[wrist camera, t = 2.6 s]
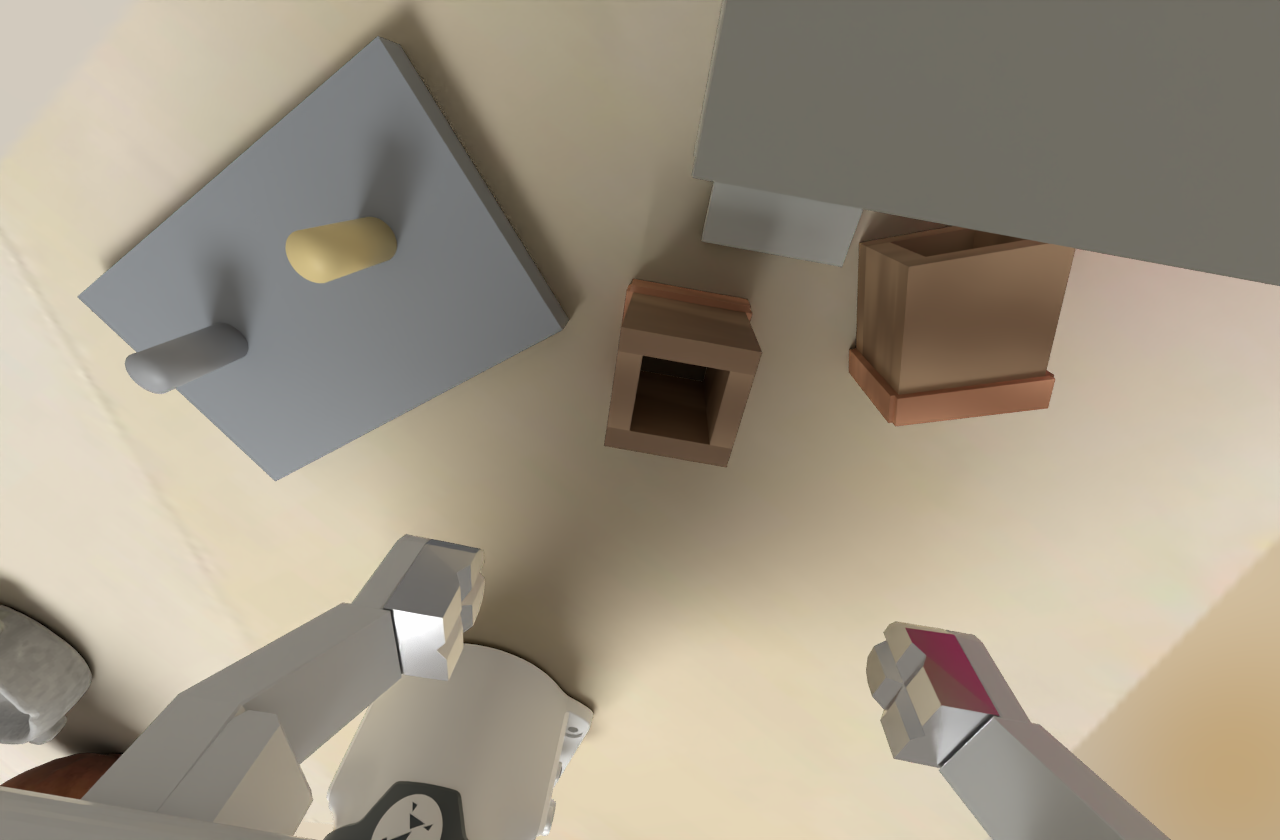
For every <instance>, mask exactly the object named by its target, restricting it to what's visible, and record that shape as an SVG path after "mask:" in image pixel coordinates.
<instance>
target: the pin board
mask: <svg viewBox="0 0 1280 840" xmlns="http://www.w3.org/2000/svg"><path fill="white" fill-rule="evenodd" d="M78 298H79V299H80V300H81V301H82V302H83V303H84V304H86V305H87V306H88V307H89V308H90V309H91V310H92V311H93V312H94V313H95V314H96V315H97V316H98V317H99V318H101V319H102V320H103V321H104V322H105V323H106V324H107V325H108V326H109V327H110V328H111V329H112V330H113V331H114V332H116V333H117V334H118V335H119V336H120V337H121V338H122V339H123V340H124V341H125V342H126V343H127V344H128V345H130V346H131V347H132V348H133V349H134V350H135V351H136V352H137V353H134V354H131V355H129V356H128V357H127V358H126V361H125V367H126V370H127V372H128V374H129V375H130V377H131V378H132V379H133V380H134V381H135V382H136V383H137V384H138V385H139V386H141V387H142V388H144V389H145V390H147V391H150V392H152V393H157V394H163V393H166V392H169V391H171V390H173V389H175V388H176V389H177V390H178V391H179V392H180V393H181V394H182V395H183V396H184V397H185V398H186V399H187V400H189V401H190V402H191V403H192V404H193V405H194V406H195V407H196V408H197V409H198V410H199V411H200V412H201V413H203V414H204V415H205V416H206V417H207V418H208V419H209V420H210V421H211V422H212V423H213V424H214V425H215V426H216V427H218V428H219V429H220V430H221V431H222V432H223V433H224V434H225V435H226V436H227V437H228V438H229V439H230V440H232V441H233V442H234V443H235V444H236V445H237V446H238V447H239V448H240V449H241V450H242V451H243V452H244V453H245V454H247V455H248V456H249V457H250V458H251V459H252V460H253V461H254V462H255V463H256V464H257V465H258V466H259V467H261V468H262V469H263V470H264V471H265V472H266V473H267V474H268V475H269V476H270V477H271V478H272V479H273V480H274V481H277V480H279V479H281V478H283V477H285V476H287V475H289V474H290V473H292V472H294V471H296V470H298V469H300V468H302V467H304V466H306V465H307V464H309V463H311V462H313V461H315V460H317V459H319V458H321V457H323V456H325V455H326V454H328V453H330V452H332V451H334V450H336V449H338V448H340V447H342V446H343V445H345V444H347V443H349V442H351V441H353V440H355V439H357V438H359V437H361V436H362V435H364V434H366V433H368V432H370V431H372V430H374V429H376V428H378V427H379V426H381V425H383V424H385V423H387V422H389V421H391V420H393V419H395V418H396V417H398V416H400V415H402V414H404V413H406V412H408V411H410V410H412V409H414V408H415V407H417V406H419V405H421V404H423V403H425V402H427V401H429V400H431V399H432V398H434V397H436V396H438V395H440V394H442V393H444V392H446V391H448V390H450V389H451V388H453V387H455V386H457V385H459V384H461V383H463V382H465V381H467V380H468V379H470V378H472V377H474V376H476V375H478V374H480V373H482V372H484V371H485V370H487V369H489V368H491V367H493V366H495V365H497V364H499V363H501V362H503V361H504V360H506V359H508V358H510V357H512V356H514V355H516V354H518V353H520V352H521V351H523V350H525V349H527V348H529V347H531V346H533V345H535V344H537V343H539V342H540V341H542V340H544V339H546V338H548V337H550V336H552V335H554V334H556V333H557V332H559V331H561V330H563V328H564V327H565V325H566V324H567V322H568V321H569V319H568V317H567V316H566V314H565V312H564V311H563V309H562V307H561V306H560V304H559V303H558V301H557V299H556V298H555V296H554V294H553V293H552V291H551V290H550V288H549V286H548V285H547V283H546V281H545V280H544V278H543V277H542V275H541V273H540V272H539V270H538V268H537V267H536V265H535V264H534V262H533V260H532V259H531V257H530V255H529V254H528V252H527V251H526V249H525V247H524V246H523V244H522V242H521V241H520V239H519V238H518V236H517V234H516V233H515V231H514V229H513V228H512V226H511V225H510V223H509V221H508V220H507V218H506V216H505V215H504V213H503V212H502V210H501V208H500V207H499V205H498V203H497V202H496V200H495V198H494V197H493V195H492V194H491V192H490V190H489V189H488V187H487V185H486V184H485V182H484V181H483V179H482V177H481V176H480V174H479V172H478V171H477V169H476V168H475V166H474V164H473V163H472V161H471V159H470V158H469V156H468V155H467V153H466V151H465V150H464V148H463V146H462V145H461V143H460V142H459V140H458V138H457V137H456V135H455V133H454V132H453V130H452V129H451V127H450V125H449V124H448V122H447V120H446V119H445V117H444V116H443V114H442V112H441V111H440V109H439V107H438V106H437V104H436V103H435V101H434V99H433V98H432V96H431V94H430V93H429V91H428V90H427V88H426V86H425V85H424V83H423V81H422V80H421V78H420V76H419V75H418V73H417V72H416V70H415V68H414V67H413V65H412V63H411V62H410V60H409V59H408V57H407V55H406V54H405V52H404V50H403V49H402V47H401V46H400V45H399V44H397V43H394V42H392V41H389V40H387V39H384V38H382V37H379V36H377V37H376V38H375V39H374V40H373V41H371V42H370V43H369V44H368V45H367V46H366V47H364V48H363V49H362V50H361V51H360V52H359V53H358V54H356V55H355V56H354V57H353V58H352V59H351V60H349V61H348V62H347V63H346V64H345V65H344V66H343V67H341V68H340V69H339V70H338V71H337V72H336V73H334V74H333V75H332V76H331V77H330V78H329V79H328V80H326V81H325V82H324V83H323V84H322V85H321V86H320V87H318V88H317V89H316V90H315V91H314V92H313V93H311V94H310V95H309V96H308V97H307V98H306V99H305V100H303V101H302V102H301V103H300V104H299V105H298V106H296V107H295V108H294V109H293V110H292V111H291V112H290V113H288V114H287V115H286V116H285V117H284V118H283V119H281V120H280V121H279V122H278V123H277V124H276V125H275V126H273V127H272V128H271V129H270V130H269V131H268V132H267V133H265V134H264V135H263V136H262V137H261V138H260V139H258V140H257V141H256V142H255V143H254V144H253V145H252V146H250V147H249V148H248V149H247V150H246V151H245V152H243V153H242V154H241V155H240V156H239V157H238V158H237V159H235V160H234V161H233V162H232V163H231V164H230V165H228V166H227V167H226V168H225V169H224V170H223V171H222V172H220V173H219V174H218V175H217V176H216V177H215V178H213V179H212V180H211V181H210V182H209V183H208V184H207V185H205V186H204V187H203V188H202V189H201V190H200V191H199V192H197V193H196V194H195V195H194V196H193V197H192V198H190V199H189V200H188V201H187V202H186V203H185V204H184V205H182V206H181V207H180V208H179V209H178V210H177V211H175V212H174V213H173V214H172V215H171V216H170V217H169V218H167V219H166V220H165V221H164V222H163V223H162V224H160V225H159V226H158V227H157V228H156V229H155V230H154V231H152V232H151V233H150V234H149V235H148V236H147V237H146V238H144V239H143V240H142V241H141V242H140V243H139V244H137V245H136V246H135V247H134V248H133V249H132V250H131V251H129V252H128V253H127V254H126V255H125V256H124V257H122V258H121V259H120V260H119V261H118V262H117V263H116V264H114V265H113V266H112V267H111V268H110V269H109V270H107V271H106V272H105V273H104V274H103V275H102V276H101V277H99V278H98V279H97V280H96V281H95V282H94V283H92V284H91V285H90V286H89V287H88V288H87V289H86V290H84V291H83V292H82V293H81V294H80V295H79V296H78Z"/></svg>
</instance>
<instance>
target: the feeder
mask: <svg viewBox="0 0 1280 840" xmlns="http://www.w3.org/2000/svg"><path fill="white" fill-rule="evenodd" d="M693 156H695V160H694V166H693V171H692V177H693V178H696V179H702V180H707V181H713V185H712V190H711V195H710V199H709V204H708V209H707V214H706V218H705V223H704V228H703V232H702V237H701V240H702V242H707V243H713V244H718V245H724V246H729V247H735V248H740V249H746V250H751V251H757V252H762V253H767V254H773V255H778V256H784V257H789V258H795V259H800V260H806V261H811V262H817V263H822V264H828V265H833V266H839V267H842V266H843V263H844V260H845V258H846V255H847V252H848V249H849V247H850V244H851V241H852V238H853V236H854V233H855V230H856V227H857V225H858V222H859V219H860V217H861V214H862V211H863V209H865V210H870V211H875V212H881V213H886V214H892V215H897V216H903V217H908V218H913V219H919V220H924V221H930V222H935V223H941V224H946V225H951V226H957V227H962V228H968V229H973V230H979V231H984V232H989V233H995V234H1000V235H1006V236H1011V237H1017V238H1022V239H1027V240H1033V241H1038V242H1044V243H1049V244H1055V245H1060V246H1065V247H1071V248H1076V249H1082V250H1087V251H1093V252H1098V253H1103V254H1109V255H1114V256H1120V257H1125V258H1131V259H1136V260H1141V261H1147V262H1152V263H1158V264H1163V265H1169V266H1174V267H1179V268H1185V269H1190V270H1196V271H1201V272H1207V273H1212V274H1217V275H1223V276H1228V277H1234V278H1239V279H1245V280H1250V281H1255V282H1261V283H1266V284H1272V285H1277V286H1280V0H723V2H722V7H721V12H720V18H719V23H718V28H717V33H716V39H715V44H714V49H713V55H712V60H711V65H710V70H709V76H708V81H707V86H706V92H705V97H704V102H703V108H702V113H701V118H700V123H699V129H698V134H697V139H696V145H695V150H694V155H693Z"/></svg>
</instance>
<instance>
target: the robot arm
mask: <svg viewBox="0 0 1280 840" xmlns="http://www.w3.org/2000/svg"><path fill="white" fill-rule="evenodd" d="M483 564H484V550H482V549H478V548H474V547H469V546H464V545H459V544H454V543H449V542H444V541H439V540H434V539H428V538H423V537H418V536H413V535H407V534H406V535H404V536H403V537H402V538H400V539H399V540H398V541H397V542H396V543H395V545H394V546H393V547H392V549H391V550H390V551H389V553H388V554H387V555H386V557H385V558H384V560H383V561H382V562H381V564H380V565H379V566H378V568H377V569H376V570H375V572H374V573H373V574H372V576H371V577H370V579H369V580H368V581H367V583H366V584H365V585H364V587H363V588H362V589H361V591H360V592H359V593H358V595H357V596H356V598H355V599H354V600H353V602H352V603H351V604H350V603H341V604H339V605H337V606H336V607H334V608H332V609H330V610H328V611H327V612H325V613H323V614H321V615H319V616H318V617H316V618H314V619H312V620H311V621H309V622H307V623H305V624H303V625H302V626H300V627H298V628H296V629H294V630H293V631H291V632H289V633H287V634H285V635H284V636H282V637H280V638H278V639H276V640H275V641H273V642H271V643H269V644H267V645H266V646H264V647H262V648H260V649H259V650H257V651H255V652H253V653H251V654H250V655H248V656H246V657H244V658H242V659H241V660H239V661H237V662H235V663H233V664H232V665H230V666H228V667H226V668H224V669H223V670H221V671H219V672H217V673H216V674H214V675H212V676H210V677H208V678H207V679H205V680H203V681H201V682H199V683H198V684H196V685H194V686H192V687H190V688H189V689H187V690H185V691H183V692H181V693H180V694H178V695H177V696H176V697H175V699H174V700H173V701H172V702H171V703H170V704H169V705H168V706H167V707H166V708H165V709H164V710H163V711H162V712H161V714H160V715H159V716H158V717H157V718H156V719H155V720H154V721H153V722H152V723H151V724H150V725H149V726H148V727H147V729H146V730H145V731H144V732H143V733H142V734H141V735H140V736H139V737H138V738H137V739H136V740H135V741H134V743H133V744H132V745H131V746H130V747H129V748H128V749H127V750H126V751H125V752H124V753H123V754H122V755H121V756H120V758H119V759H118V760H117V761H116V762H115V763H114V764H113V765H112V766H111V767H110V768H109V769H108V770H107V771H106V773H105V774H104V775H103V776H102V777H101V778H100V779H99V780H98V781H97V782H96V783H95V784H94V785H93V786H92V788H91V789H90V790H89V791H88V792H87V793H86V794H85V795H84V796H83V797H82V798H81V799H74V798H68V797H62V796H56V795H50V794H44V793H38V792H33V791H27V790H21V789H15V788H9V787H3V786H0V840H315V839H308V838H303V837H297V836H293V835H294V833H295V832H296V830H297V828H298V826H299V825H300V823H301V821H302V819H303V817H304V816H305V814H306V812H307V810H308V808H309V807H310V805H311V803H312V801H313V798H312V793H311V789H310V787H309V785H308V782H307V780H306V778H305V776H304V774H303V771H302V769H301V767H300V765H299V764H301V763H302V762H303V761H304V760H305V759H307V758H308V757H309V756H310V755H311V754H312V753H314V752H315V751H316V750H317V749H318V748H319V747H321V746H322V745H323V744H324V743H325V742H327V741H328V740H329V739H330V738H331V737H332V736H334V735H335V734H336V733H337V732H338V731H339V730H341V729H342V728H343V727H344V726H345V725H347V724H348V723H349V722H350V721H351V720H352V719H354V718H355V717H356V716H357V715H358V714H359V713H361V712H362V711H363V710H364V709H365V708H367V707H368V706H369V707H368V709H367V711H366V713H365V715H364V717H363V719H362V721H361V723H360V725H359V727H358V729H357V731H356V733H355V735H354V737H353V739H352V741H351V743H350V745H349V747H348V749H347V751H346V753H345V755H344V757H343V759H342V761H341V763H340V765H339V768H338V770H337V772H336V774H335V776H334V778H333V780H332V782H331V784H330V786H329V789H328V792H327V800H328V801H329V809H330V811H331V813H332V816H333V831H332V832H331V833H329V834H328V835H327V836H326V837H325V838H324V840H535V839H536V837H537V836H540V835H543V836H546V835H548V834H549V831H550V828H551V825H552V821H553V817H554V812H555V806H556V801H554V800H553V799H551V797H552V792H553V788H554V787H555V785H556V783H557V782H558V780H559V778H560V777H561V775H562V773H563V772H564V770H565V768H566V767H567V765H568V763H569V762H570V760H571V759H572V757H573V755H574V754H575V752H576V750H577V749H578V747H579V745H580V744H581V742H582V740H583V739H584V737H585V735H586V734H587V732H588V730H589V729H590V726H591V722H592V718H593V712H592V711H591V710H590V709H589V708H588V707H586V706H585V705H583V704H581V703H580V702H578V701H576V700H574V699H572V698H571V697H569V696H567V695H566V694H565V693H564V692H563V691H562V690H561V689H560V688H559V686H558V685H557V684H556V683H555V682H554V681H553V680H552V679H551V678H550V677H549V676H548V675H547V674H546V673H544V672H543V671H542V670H540V669H539V668H537V667H536V666H534V665H533V664H531V663H529V662H527V661H525V660H524V659H521V658H519V657H517V656H515V655H512V654H510V653H507V652H504V651H501V650H498V649H494V648H490V647H486V646H481V645H474V644H466V643H463V633H464V632H466V631H467V630H468V629H470V628H471V627H473V625H474V623H475V620H476V618H477V615H478V613H479V610H480V606H481V603H482V600H483V595H484V588H485V577H484V576H483V575H482V574H481V573H480V570H481V568H482V566H483ZM883 633H884V635H885V638H886V641H884V642H882V643H880V644H878V645H876V646H874V647H873V649H872V651H871V652H870V654H869V656H868V659H867V667H866V674H867V681H868V685H869V688H870V691H871V694H872V697H873V698H874V699H875V700H876V701H877V702H878V703H879V704H880V705H881V707H882V708H883V709H884V711H883V714H882V717H881V720H880V721H881V724H882V726H883V729H884V732H885V735H886V738H887V741H888V744H889V747H890V749H891V752H892V755H893V758H894V759H898V760H903V761H908V762H913V763H918V764H923V765H928V766H933V767H937V768H940V769H939V771H940V773H941V774H942V775H943V777H944V778H945V779H946V780H947V782H948V783H949V784H950V786H951V787H952V788H953V790H954V791H955V792H956V793H957V795H958V796H959V797H960V799H961V800H962V801H963V802H964V804H965V805H966V806H967V808H968V809H969V810H970V811H971V813H972V814H973V815H974V817H975V818H976V819H977V820H978V822H979V823H980V824H981V826H982V827H983V828H984V829H985V831H986V832H987V833H988V835H989V836H990V837H991V839H992V840H1170V839H1169V838H1168V837H1167V836H1166V835H1165V834H1164V833H1162V832H1161V831H1160V830H1159V829H1158V828H1157V827H1156V826H1155V825H1153V824H1152V823H1151V822H1150V821H1149V820H1148V819H1147V818H1145V817H1144V816H1143V815H1142V814H1141V813H1140V812H1138V811H1137V810H1136V809H1135V808H1134V807H1133V806H1132V805H1131V804H1129V803H1128V802H1127V801H1126V800H1125V799H1124V798H1123V797H1122V796H1120V795H1119V794H1118V793H1117V792H1116V791H1114V790H1113V789H1112V788H1111V787H1110V786H1109V785H1108V784H1107V783H1106V782H1104V781H1103V780H1102V779H1101V778H1100V777H1099V776H1097V775H1096V774H1095V773H1094V772H1093V771H1092V770H1091V769H1090V768H1089V767H1087V766H1086V765H1085V764H1084V763H1083V762H1082V761H1080V760H1079V759H1078V758H1077V757H1076V756H1075V755H1074V754H1073V753H1071V752H1070V751H1069V750H1068V749H1067V748H1066V747H1065V746H1063V745H1062V744H1061V743H1060V742H1059V741H1058V740H1057V739H1055V738H1054V737H1053V736H1052V735H1051V734H1050V733H1049V732H1048V731H1046V730H1045V729H1044V728H1043V727H1042V726H1041V725H1039V724H1035V723H1031V722H1030V720H1029V719H1028V717H1027V715H1026V714H1025V712H1024V710H1023V709H1022V707H1021V705H1020V704H1019V702H1018V700H1017V699H1016V697H1015V695H1014V694H1013V692H1012V691H1011V689H1010V687H1009V686H1008V684H1007V682H1006V681H1005V679H1004V677H1003V676H1002V674H1001V672H1000V671H999V669H998V668H997V666H996V664H995V663H994V661H993V659H992V658H991V656H990V654H989V653H988V651H987V649H986V648H985V646H984V644H983V643H982V642H981V641H980V640H979V639H978V638H977V637H976V636H975V635H972V634H966V633H960V632H955V631H949V630H944V629H940V628H933V627H927V626H921V625H915V624H909V623H903V622H897V621H896V622H893V623H891V624H889V625H888V627H887V628H886V630H885V631H884V632H883Z"/></svg>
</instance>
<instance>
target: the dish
mask: <svg viewBox="0 0 1280 840" xmlns="http://www.w3.org/2000/svg"><path fill="white" fill-rule="evenodd" d="M91 681H92V675H91V671H90V669H89V667H88V665H87V663H86V662H85V661H84V659H83V658H82V657H81V656H80V654H79V653H78V652H77V651H76V650H75V649H74V648H73V647H72V646H70V645H69V644H68V643H67V642H65V641H64V640H63V639H61V638H60V637H58V636H57V635H56V634H54V633H53V632H52V631H50V630H49V629H47V628H46V627H45V626H43V625H41V624H40V623H38V622H37V621H35V620H33V619H31V618H29V617H28V616H26V615H24V614H22V613H20V612H18V611H15V610H13V609H11V608H9V607H6V606H3V605H0V743H2V744H23V743H27V742H30V743H32V744H38V745H41V744H44V743H47V742H49V741H50V740H52V739H53V738H54V737H55V736H56V735H57V734H58V733H59V732H60V731H61V729H62V728H63V727H64V726H65V724H66V722H67V717H66V716H64V715H65V714H66V713H67V712H68V711H69V710H70V709H71V708H72V707H73V706H74V705H75V704H76V703H77V702H78V700H79V699H80V698H81V697H82V696H83V695H84V693H85V692H86V691H87V689H88V688H89V686H90V684H91Z"/></svg>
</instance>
